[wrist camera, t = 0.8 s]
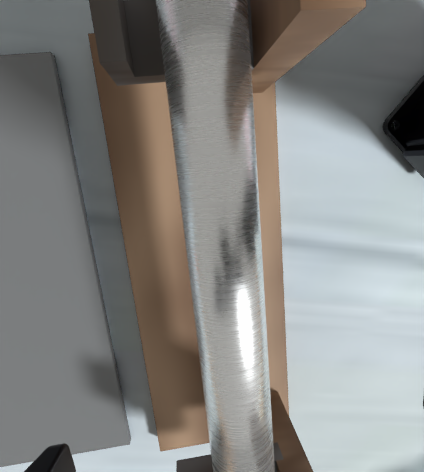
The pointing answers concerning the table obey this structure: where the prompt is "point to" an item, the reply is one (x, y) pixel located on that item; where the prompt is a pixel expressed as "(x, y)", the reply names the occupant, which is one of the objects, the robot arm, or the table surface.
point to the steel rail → (221, 220)
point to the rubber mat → (48, 281)
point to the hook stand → (169, 208)
